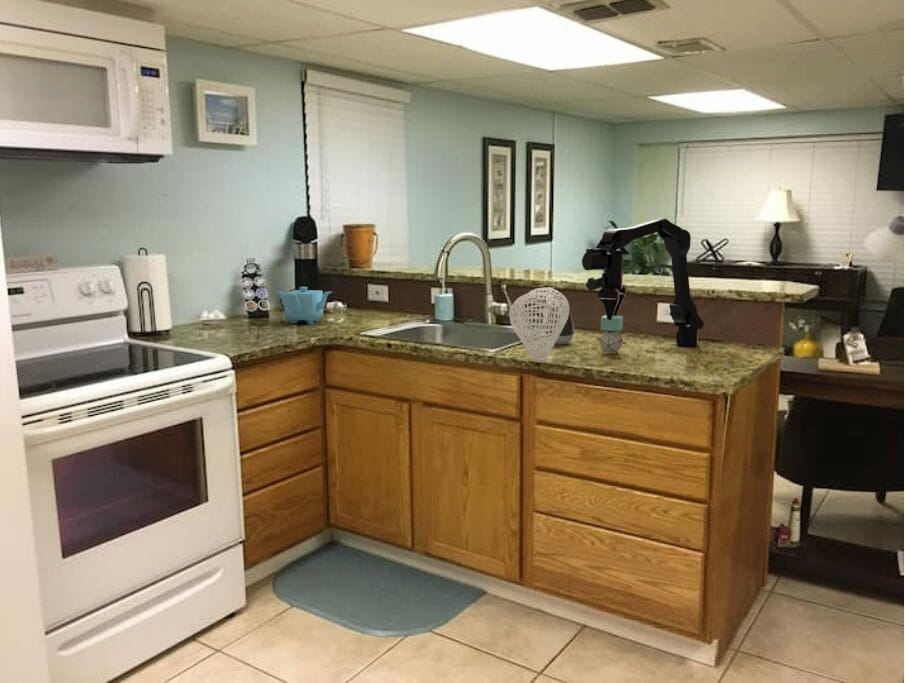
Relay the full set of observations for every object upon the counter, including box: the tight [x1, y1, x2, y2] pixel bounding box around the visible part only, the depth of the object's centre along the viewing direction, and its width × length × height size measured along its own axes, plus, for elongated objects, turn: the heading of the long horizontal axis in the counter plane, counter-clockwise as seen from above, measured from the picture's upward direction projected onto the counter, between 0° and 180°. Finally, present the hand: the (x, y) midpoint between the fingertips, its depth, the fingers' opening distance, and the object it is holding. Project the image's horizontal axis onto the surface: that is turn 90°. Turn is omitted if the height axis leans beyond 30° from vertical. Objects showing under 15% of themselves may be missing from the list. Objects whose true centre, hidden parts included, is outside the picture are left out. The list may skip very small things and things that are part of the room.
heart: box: [509, 287, 570, 363], centre depth 237 cm, size 28×16×22 cm, turn 163°
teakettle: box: [274, 286, 332, 325], centre depth 322 cm, size 19×19×15 cm
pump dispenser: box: [545, 301, 575, 345], centre depth 269 cm, size 10×10×15 cm
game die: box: [596, 329, 627, 355], centre depth 252 cm, size 9×8×10 cm
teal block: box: [600, 314, 624, 332], centre depth 251 cm, size 6×6×4 cm
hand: (611, 317), depth 250 cm, fingers open, 9 cm apart
